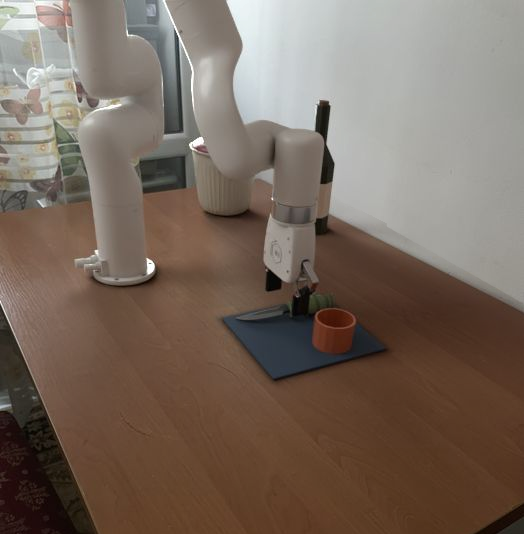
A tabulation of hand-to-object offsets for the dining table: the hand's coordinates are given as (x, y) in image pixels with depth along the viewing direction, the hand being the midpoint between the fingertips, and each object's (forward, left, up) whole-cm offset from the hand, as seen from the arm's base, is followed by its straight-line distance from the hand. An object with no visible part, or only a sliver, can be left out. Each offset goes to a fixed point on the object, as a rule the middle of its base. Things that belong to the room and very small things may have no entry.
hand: (285, 301), depth 99 cm
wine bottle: (+28, +37, -4) cm, 47 cm away
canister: (+13, +57, -4) cm, 59 cm away
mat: (0, -6, -3) cm, 7 cm away
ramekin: (+3, -11, -3) cm, 12 cm away
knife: (0, 0, -3) cm, 3 cm away
